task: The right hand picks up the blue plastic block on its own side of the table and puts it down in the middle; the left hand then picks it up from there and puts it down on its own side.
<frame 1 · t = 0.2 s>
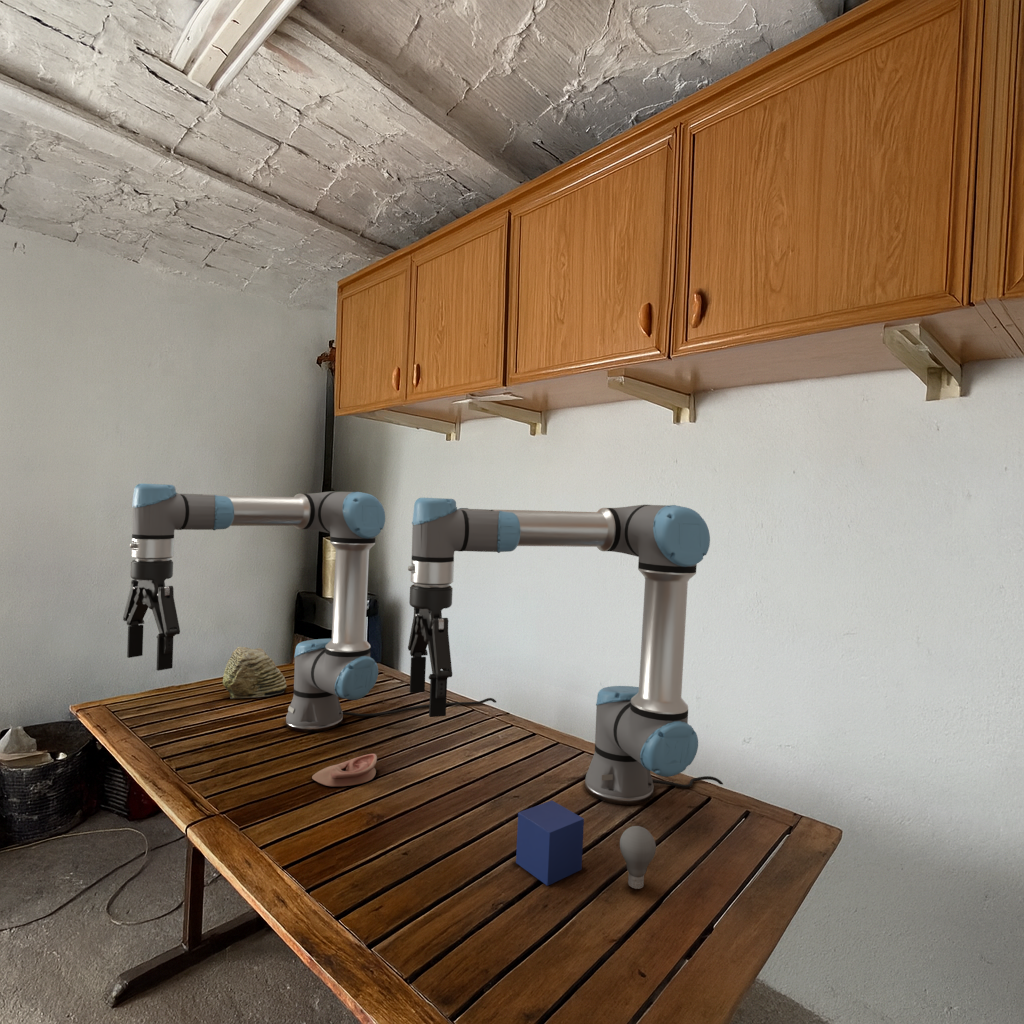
left hand: (149, 662, 130), 28 cm above the table, tool pointing down, fingers open, 13 cm apart
right hand: (426, 703, 113), 28 cm above the table, tool pointing down, fingers open, 13 cm apart
fossil: (254, 694, 198), on the table
block: (548, 866, 112), on the table
light bulb: (635, 887, 107), on the table
anatomical model: (344, 777, 144), on the table
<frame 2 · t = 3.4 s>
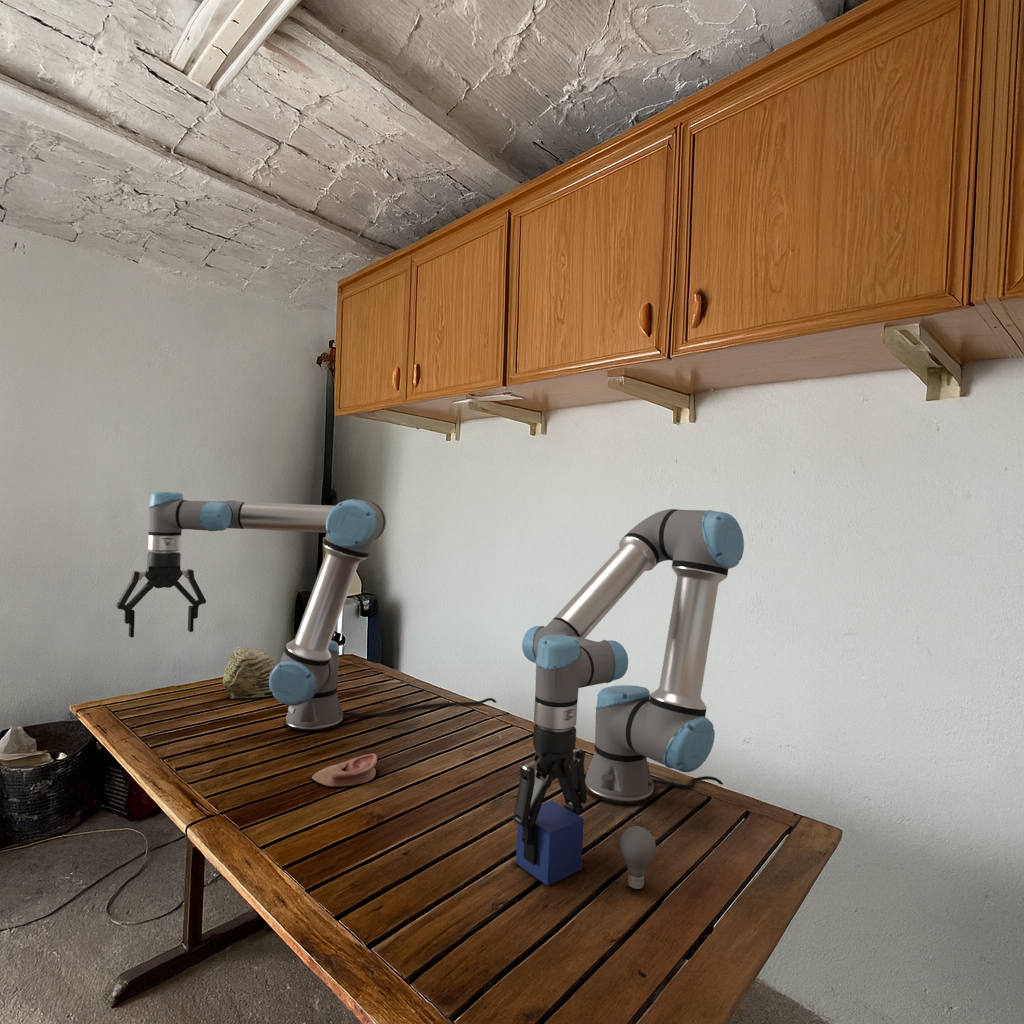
left hand: (161, 633, 163), 26 cm above the table, tool pointing down, fingers open, 13 cm apart
right hand: (549, 852, 112), 3 cm above the table, tool pointing down, fingers closed on block, 8 cm apart
block: (548, 866, 112), on the table, touching right hand
everything else where it was.
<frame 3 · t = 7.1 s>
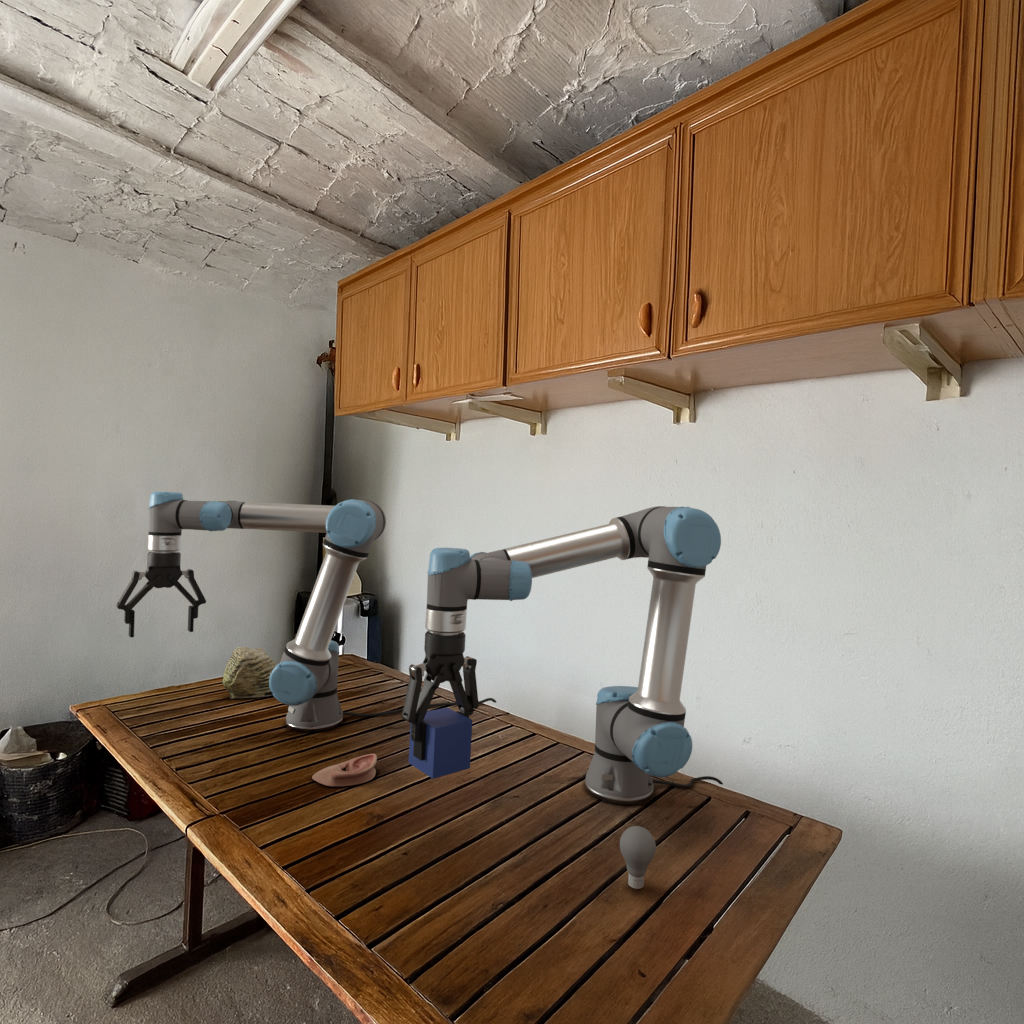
left hand: (161, 633, 163), 26 cm above the table, tool pointing down, fingers open, 13 cm apart
right hand: (439, 752, 118), 17 cm above the table, tool pointing down, fingers closed on block, 8 cm apart
block: (439, 765, 118), point 14 cm above the table, touching right hand
everything else where it was.
when the right hand's fingers open (4 cm above the table, at t = 11.0 s): block drops 1 cm, on the table.
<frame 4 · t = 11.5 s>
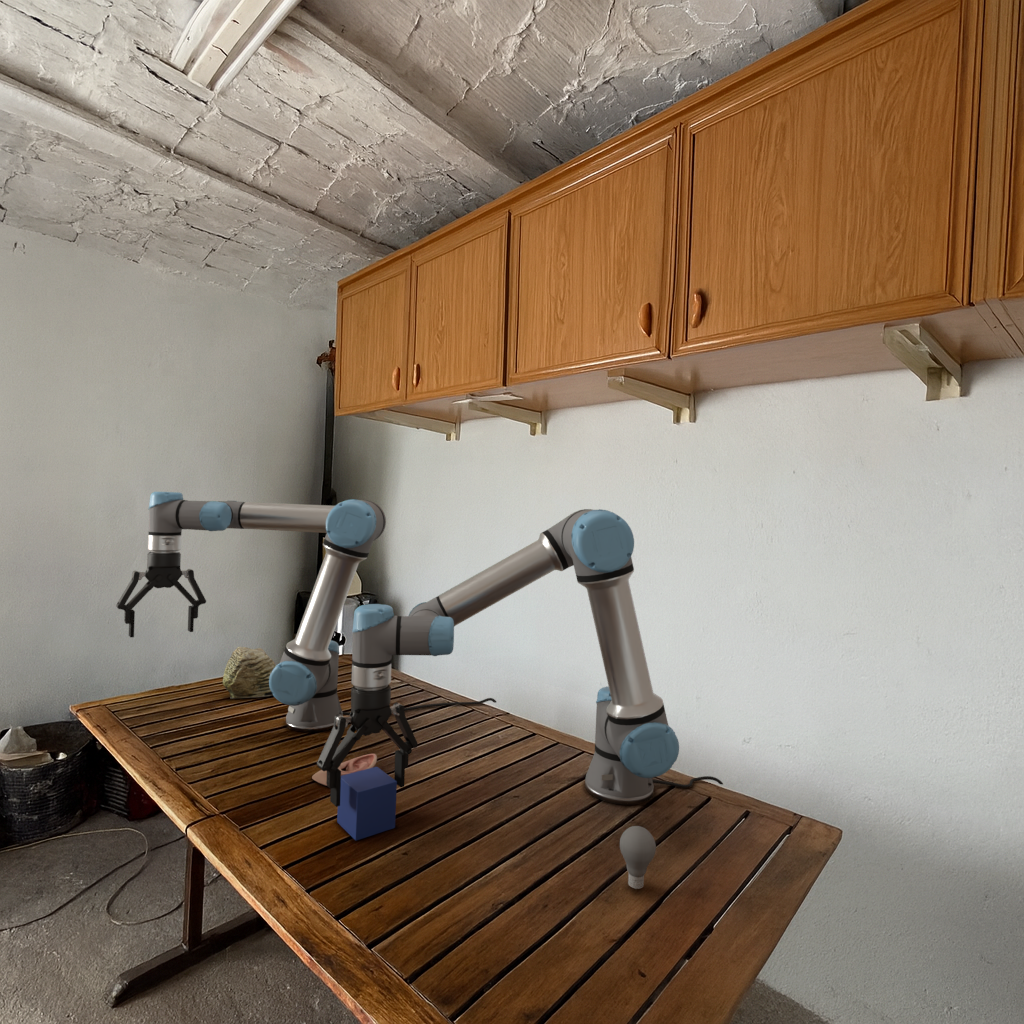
left hand: (161, 633, 163), 26 cm above the table, tool pointing down, fingers open, 13 cm apart
right hand: (368, 793, 123), 6 cm above the table, tool pointing down, fingers open, 13 cm apart
block: (365, 825, 123), on the table
everything else where it was.
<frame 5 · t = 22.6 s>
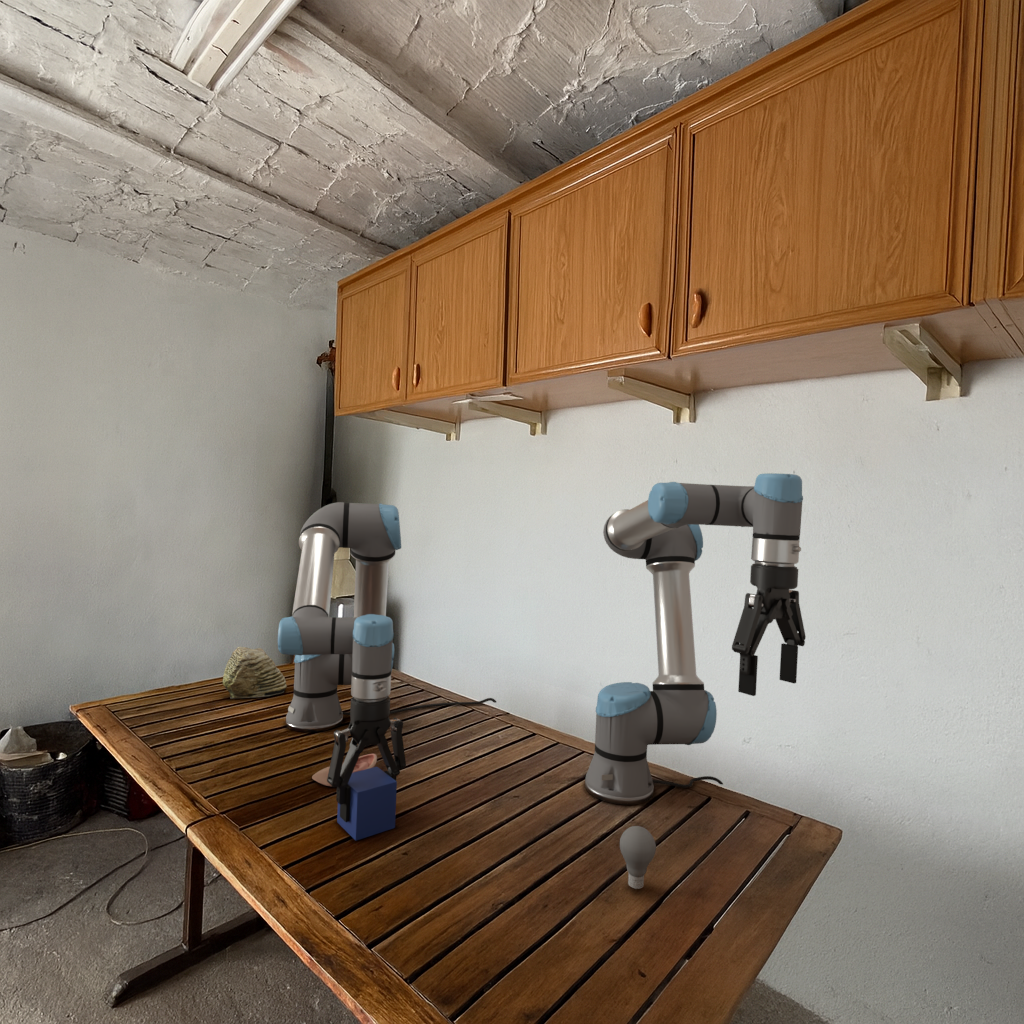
left hand: (366, 812, 123), 3 cm above the table, tool pointing down, fingers closed on block, 8 cm apart
right hand: (768, 687, 109), 34 cm above the table, tool pointing down, fingers open, 13 cm apart
block: (365, 825, 123), on the table, touching left hand
everything else where it was.
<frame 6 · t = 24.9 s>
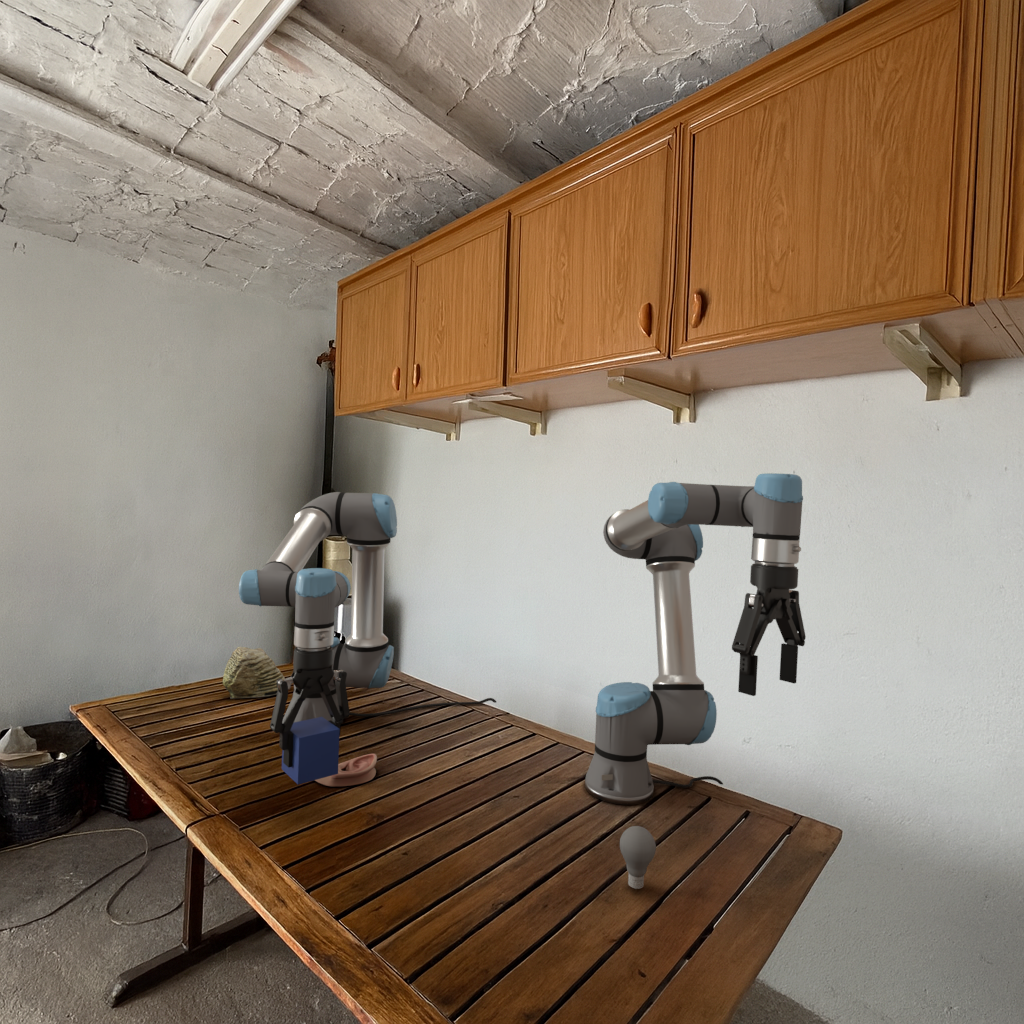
left hand: (309, 759, 127), 11 cm above the table, tool pointing down, fingers closed on block, 8 cm apart
right hand: (768, 687, 109), 34 cm above the table, tool pointing down, fingers open, 13 cm apart
block: (309, 771, 127), point 8 cm above the table, touching left hand
everything else where it was.
when the left hand's fingers open (4 cm above the table, at t = 27.5 s): block drops 1 cm, on the table.
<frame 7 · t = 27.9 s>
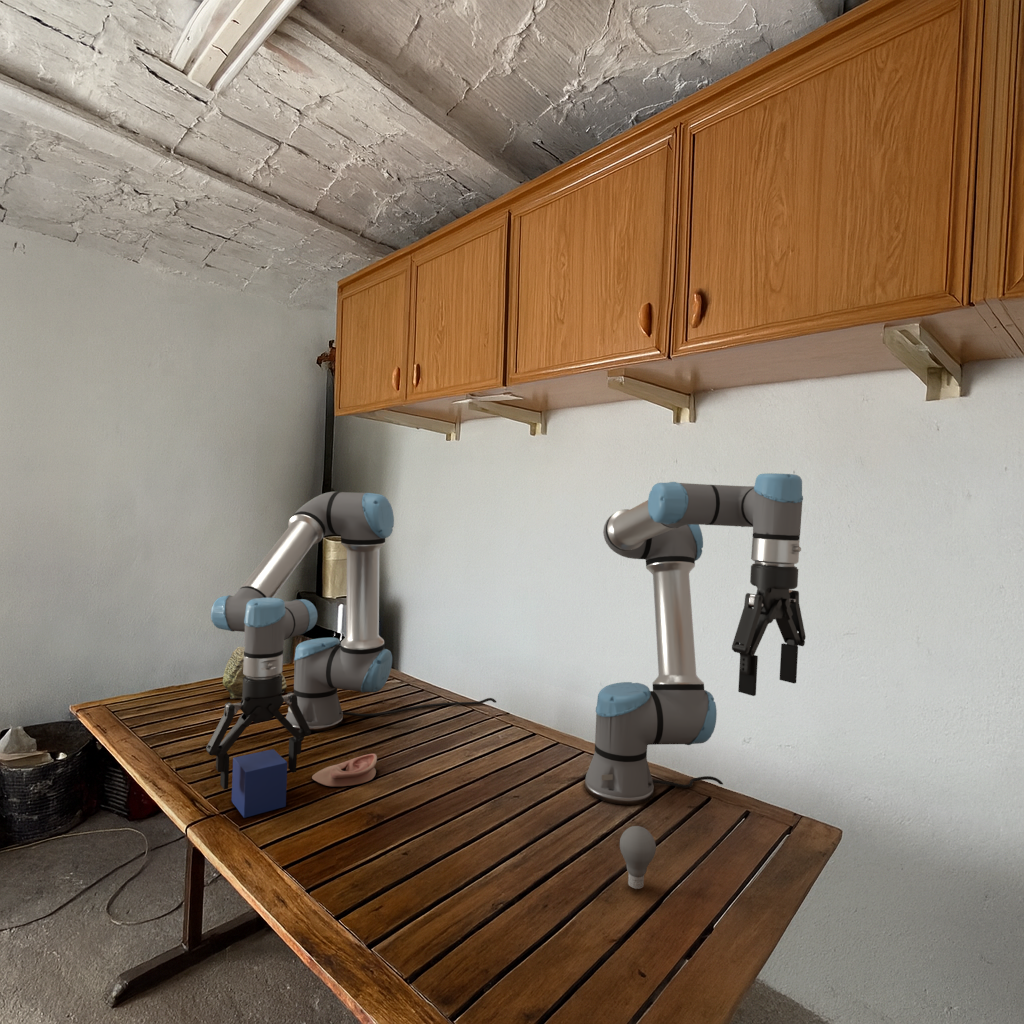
left hand: (259, 778, 130), 5 cm above the table, tool pointing down, fingers open, 13 cm apart
right hand: (768, 687, 109), 34 cm above the table, tool pointing down, fingers open, 13 cm apart
block: (258, 803, 130), on the table
everything else where it was.
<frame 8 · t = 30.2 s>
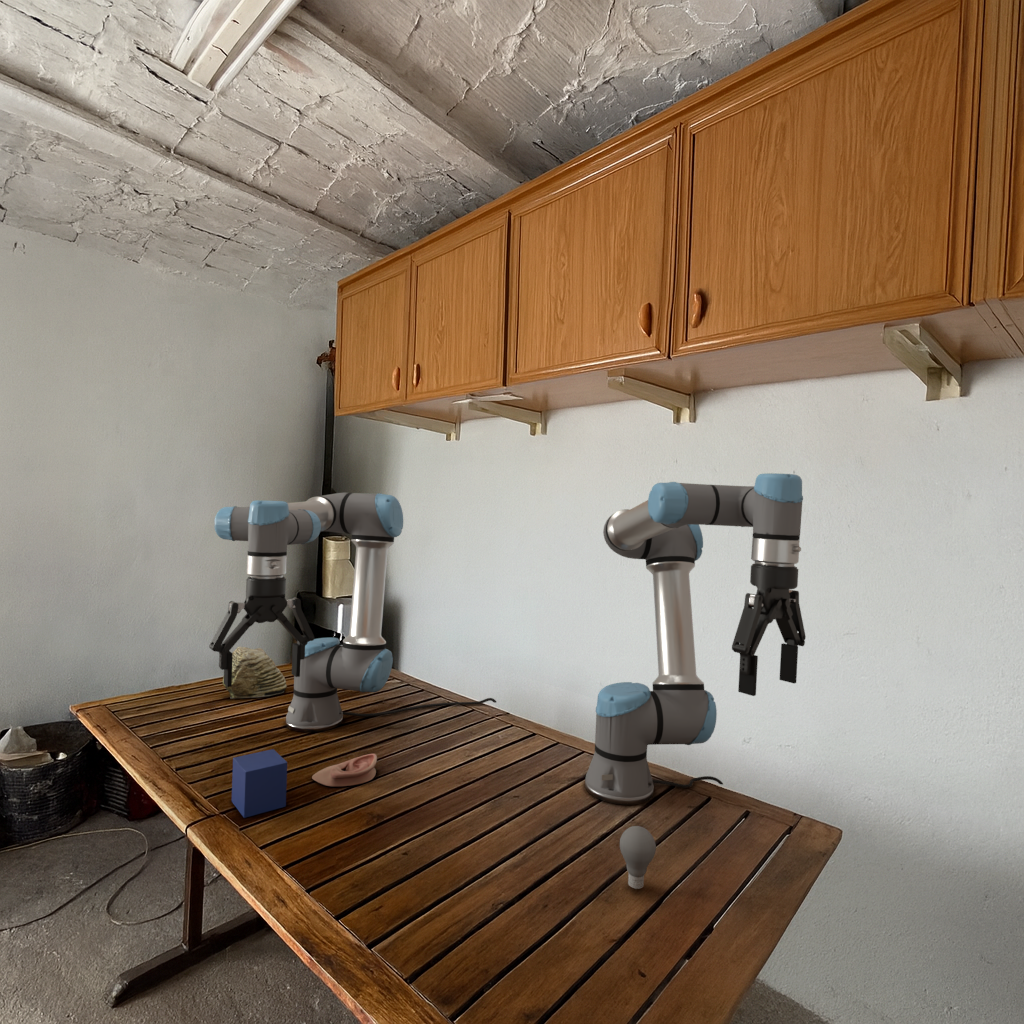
left hand: (262, 680, 129), 25 cm above the table, tool pointing down, fingers open, 13 cm apart
right hand: (768, 687, 109), 34 cm above the table, tool pointing down, fingers open, 13 cm apart
nothing on the table moved.
at the end: block inside the target area (0.1 cm from its centre), on the table; block tilted 0°; the two hands never held the block at the same time; the left hand is holding nothing; the right hand is holding nothing; block at rest at the end (0.0 cm/s) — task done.
